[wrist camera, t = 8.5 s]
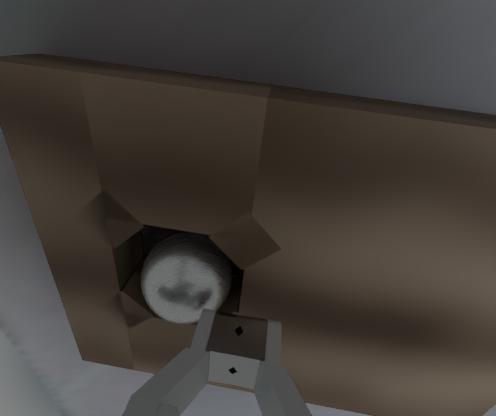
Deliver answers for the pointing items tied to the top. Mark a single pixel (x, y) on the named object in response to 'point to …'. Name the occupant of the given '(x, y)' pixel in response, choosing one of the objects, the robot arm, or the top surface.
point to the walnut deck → (270, 223)
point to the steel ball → (185, 277)
